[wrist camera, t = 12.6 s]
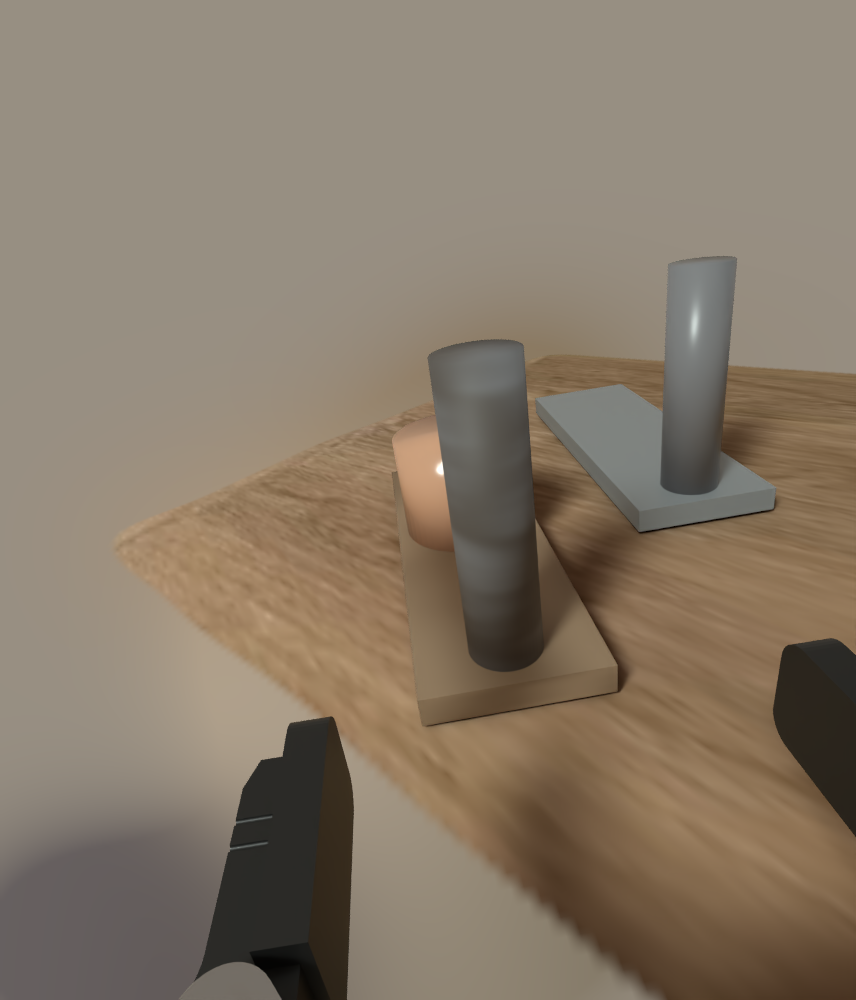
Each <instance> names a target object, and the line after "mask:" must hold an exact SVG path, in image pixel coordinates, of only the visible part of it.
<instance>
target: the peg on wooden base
mask: <svg viewBox="0 0 856 1000" xmlns="http://www.w3.org/2000/svg"><path fill="white" fill-rule="evenodd" d="M428 363H429V370H430V377H431V385H432V392H433V400H434V407H435V414H436V421H437V428H438V436H439V443H440V450H441V457H442V464H443V471H444V479H445V486H446V493H447V500H448V507H449V515H450V522H451V529H452V536H453V543H454V551H455V552H447V551H438V550H433V549H429V548H426V547H424V546H421V545H420V544H418V543H416V542H415V541H414V540H413V539H412V538H411V537H410V535H409V532H408V528H407V522H406V517H405V511H404V505H403V500H402V494H401V488H400V483H399V477H398V471H397V472H392V478H393V487H394V496H395V505H396V514H397V523H398V532H399V541H400V550H401V559H402V568H403V577H404V586H405V595H406V604H407V613H408V622H409V631H410V640H411V649H412V658H413V667H414V676H415V684H416V693H417V702H418V707H419V712H420V717H421V722H422V726H427V725H433V724H438V723H444V722H450V721H455V720H461V719H466V718H472V717H477V716H483V715H489V714H494V713H500V712H505V711H511V710H516V709H522V708H528V707H533V706H539V705H544V704H550V703H555V702H561V701H567V700H572V699H578V698H583V697H589V696H595V695H600V694H606V693H611V692H617V691H618V665H617V663H616V661H615V660H614V658H613V656H612V654H611V653H610V651H609V649H608V647H607V645H606V644H605V642H604V640H603V638H602V637H601V635H600V633H599V631H598V629H597V628H596V626H595V624H594V622H593V620H592V619H591V617H590V615H589V613H588V612H587V610H586V608H585V606H584V604H583V603H582V601H581V599H580V597H579V596H578V594H577V592H576V590H575V588H574V587H573V585H572V583H571V581H570V580H569V578H568V576H567V574H566V572H565V571H564V569H563V567H562V565H561V563H560V562H559V560H558V558H557V556H556V555H555V553H554V551H553V549H552V547H551V546H550V544H549V542H548V540H547V539H546V537H545V535H544V533H543V531H542V530H541V528H540V526H539V524H538V523H537V521H536V519H535V508H534V493H533V478H532V463H531V448H530V434H529V419H528V404H527V389H526V374H525V359H524V346H523V344H522V343H519V342H517V341H512V340H480V341H472V342H465V343H461V344H455V345H451V346H448V347H444V348H442V349H439V350H437V351H434V352H433V353H431V354H430V355H429V356H428Z"/></svg>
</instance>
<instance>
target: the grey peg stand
mask: <svg viewBox="0 0 856 1000" xmlns="http://www.w3.org/2000/svg"><path fill="white" fill-rule="evenodd" d="M736 266H737V258H736V257H728V256H717V257H702V258H693V259H686V260H681V261H676V262H673V263H670V264H669V265H668V284H667V311H666V338H665V365H664V391H663V412H662V411H661V410H659V409H658V408H656V407H655V406H653V405H652V404H650V403H649V402H647V401H646V400H644V399H643V398H641V397H640V396H638V395H637V394H635V393H634V392H632V391H631V390H629V389H628V388H626V387H625V386H623V385H622V384H619V385H613V386H607V387H601V388H595V389H589V390H583V391H577V392H571V393H565V394H559V395H553V396H547V397H541V398H535V401H536V413H537V414H538V415H539V417H540V418H541V419H542V420H543V421H544V422H545V424H546V425H547V426H548V427H549V428H550V429H551V430H552V432H553V433H554V434H555V435H556V436H557V437H558V439H559V440H560V441H561V442H562V443H563V444H564V446H565V447H566V448H567V449H568V450H569V451H570V453H571V454H572V455H573V456H574V457H575V458H576V459H577V461H578V462H579V463H580V464H581V465H582V466H583V468H584V469H585V470H586V471H587V472H588V473H589V475H590V476H591V477H592V478H593V479H594V480H595V482H596V483H597V484H598V485H599V486H600V487H601V489H602V490H603V491H604V492H605V493H606V494H607V495H608V497H609V498H610V499H611V500H612V501H613V502H614V504H615V505H616V506H617V507H618V508H619V509H620V511H621V512H622V513H623V514H624V515H625V516H626V518H627V519H628V520H629V521H630V522H631V523H632V524H633V526H634V527H635V528H636V529H637V530H638V531H639V532H642V531H648V530H654V529H660V528H665V527H671V526H677V525H683V524H689V523H695V522H700V521H706V520H712V519H718V518H724V517H729V516H735V515H741V514H747V513H753V512H758V511H764V510H770V509H774V501H775V494H776V487H774V486H773V485H771V484H770V483H768V482H767V481H765V480H764V479H762V478H761V477H759V476H758V475H756V474H755V473H753V472H752V471H750V470H749V469H747V468H746V467H745V466H743V465H742V464H740V463H739V462H737V461H736V460H734V459H733V458H731V457H730V456H728V455H727V454H725V453H724V452H722V451H721V442H722V431H723V419H724V407H725V395H726V383H727V372H728V360H729V348H730V347H729V346H730V336H731V324H732V312H733V301H734V288H735V277H736Z"/></svg>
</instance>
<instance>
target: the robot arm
mask: <svg viewBox="0 0 856 1000" xmlns="http://www.w3.org/2000/svg"><path fill="white" fill-rule="evenodd" d="M773 715H774V721H775V725H776V728H777V730H778V733H779V735H780V737H781V739H782V741H783V742H784V744H785V745H786V747H787V748H788V750H789V751H790V752H791V753H792V755H793V756H794V757H795V759H796V760H797V761H798V763H799V764H800V765H801V766H802V768H803V769H804V770H805V772H806V773H807V774H808V776H809V777H810V778H811V779H812V781H813V782H814V783H815V785H816V786H817V787H818V788H819V790H820V791H821V792H822V794H823V795H824V796H825V798H826V799H827V800H828V801H829V803H830V804H831V805H832V807H833V808H834V809H835V811H836V812H837V813H838V814H839V816H840V817H841V818H842V820H843V821H844V822H845V824H846V825H847V826H848V827H849V829H850V830H851V831H852V833H853V834H854V835H855V837H856V655H855V654H854V653H853V652H852V651H851V650H850V649H849V648H847V647H846V646H845V645H844V644H843V643H842V642H840V641H838V640H836V639H832V638H830V639H823V640H817V641H811V642H805V643H798V644H792V645H788V646H786V647H785V648H784V650H783V652H782V657H781V663H780V669H779V675H778V682H777V688H776V694H775V700H774V707H773ZM353 815H354V805H353V791H352V783H351V778H350V773H349V770H348V766H347V762H346V759H345V755H344V751H343V748H342V744H341V741H340V737H339V733H338V730H337V726H336V723H335V720H334V718H333V717H325V718H319V719H313V720H306V721H301V722H294V723H290V724H289V726H288V729H287V734H286V739H285V746H284V751H283V757H278V758H272V759H265V760H261V762H260V763H259V764H258V766H257V768H256V769H255V771H254V772H253V774H252V775H251V777H250V778H249V780H248V782H247V783H246V785H245V786H244V788H243V791H242V795H241V799H240V804H239V808H238V813H237V817H236V826H234V830H233V834H232V838H231V843H230V852H229V853H228V856H227V860H226V864H225V869H224V873H223V877H222V881H221V886H220V890H219V894H218V899H217V903H216V907H215V912H214V916H213V921H212V925H211V929H210V934H209V938H208V942H207V946H206V951H205V955H204V958H203V962H202V965H201V967H200V970H199V972H198V975H197V977H196V979H195V981H194V982H193V984H192V985H191V986H190V987H189V988H188V989H187V990H186V991H185V992H184V993H183V995H182V996H181V997H180V998H179V999H178V1000H347V979H348V953H349V925H350V899H351V872H352V844H353V818H354V816H353Z"/></svg>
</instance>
